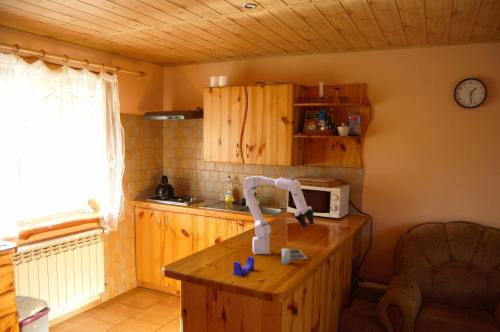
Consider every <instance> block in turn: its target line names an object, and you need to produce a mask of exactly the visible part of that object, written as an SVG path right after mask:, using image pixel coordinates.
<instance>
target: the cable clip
mask: <svg viewBox="0 0 500 332" xmlns="http://www.w3.org/2000/svg"><path fill="white" fill-rule="evenodd" d="M253 270H255V258H254V257H252V256H248V257H247V260H246V263H245V265H244V266H243V267H242V263H241V262H239V261H234V262H233V275H234V276H239V277H243V276H245V275H248V274H249V273H250V272H251V271H253Z"/></svg>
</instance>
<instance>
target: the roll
mask: <svg viewBox="0 0 500 332" xmlns="http://www.w3.org/2000/svg"><path fill="white" fill-rule="evenodd" d="M290 250H291V249H290V248H281V252H282V253H281V264H284V265H289V264H290V263H291V260H290Z"/></svg>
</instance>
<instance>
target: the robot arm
mask: <svg viewBox="0 0 500 332" xmlns="http://www.w3.org/2000/svg"><path fill="white" fill-rule="evenodd" d="M292 179H293V178H289V179H288V178H284V177H283V176H280V177H278V178H277V179H276V178H272V177H267V176H263V175H252V176H247V177H245V179H244V180H243V183H242V185H243V196H244V198H245V201H246V203H247V206H248V208H249V211H250V214H251V215H252V218H253V220H254V226H253V227H254V232H255V234H254V235H255V236H253V237H252V243H251V245H252V246H251V248H252V250H251V251H252V253H253V254H254V255H271V252H270V234H271V232H272V227H271V226H270V224H269V223H268V220H266V219H265V218H264V216H263V214H262V211H261V208H260V206H259V203H258V200H257V199H256V196H255V191H256V190H257V188H258V187H260V185H261V184H267V185H273V186H276V188H277V189H282V190H288V191H289V192H290V193H291V196H292V198H293V202H294V205H295V206H296V210H297V211H295V212H294V218H295V219H296V220H297V221H298V223H299V224H300V226H301V227H302V228H303V229H304V228H307V226H308V225H307V222H306V219H307V221H308V223H309V225H313V224H315V223H314V222H315V221H314V212H315V211H314V209H313V208H312V206H311V205H310V206H308V205H307V202H306V199H305V196H304V193H303V191H302V188H301V187H302V184H301V182H300V181H299V180H298V179H294V180H292Z"/></svg>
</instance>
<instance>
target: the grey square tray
mask: <svg viewBox="0 0 500 332" xmlns="http://www.w3.org/2000/svg"><path fill="white" fill-rule="evenodd" d="M280 253H281V254H282V251H281V252H280ZM304 259H307V260H309V258H308V257H307V256H306V254H304V252H303V251H302V250H300V249H290V261H291V260H293V261H294V260H295V261H297V260H303V261H304Z"/></svg>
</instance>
